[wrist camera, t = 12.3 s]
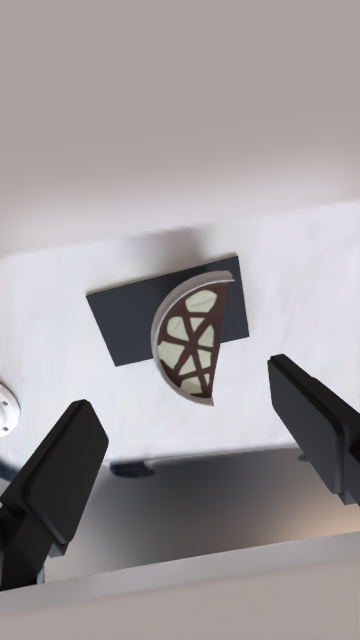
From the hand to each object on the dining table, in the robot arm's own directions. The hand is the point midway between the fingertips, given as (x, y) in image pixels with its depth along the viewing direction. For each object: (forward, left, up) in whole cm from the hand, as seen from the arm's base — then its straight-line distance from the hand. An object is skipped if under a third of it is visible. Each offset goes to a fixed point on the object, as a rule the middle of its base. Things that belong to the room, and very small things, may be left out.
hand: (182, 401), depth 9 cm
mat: (-1, 0, -16) cm, 16 cm away
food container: (0, 0, -16) cm, 16 cm away
